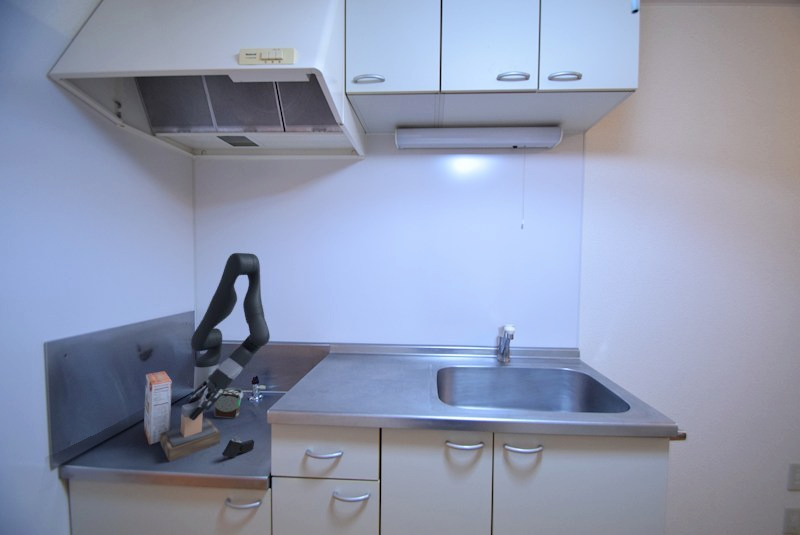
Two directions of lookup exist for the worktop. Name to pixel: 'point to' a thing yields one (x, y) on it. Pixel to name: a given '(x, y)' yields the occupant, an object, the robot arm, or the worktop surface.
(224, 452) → the lighter
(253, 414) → the worktop surface
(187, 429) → the block
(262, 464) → the worktop surface
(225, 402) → the food container
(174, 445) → the stand
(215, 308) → the robot arm
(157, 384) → the cracker box
